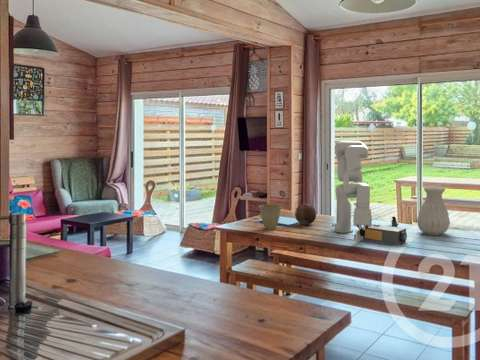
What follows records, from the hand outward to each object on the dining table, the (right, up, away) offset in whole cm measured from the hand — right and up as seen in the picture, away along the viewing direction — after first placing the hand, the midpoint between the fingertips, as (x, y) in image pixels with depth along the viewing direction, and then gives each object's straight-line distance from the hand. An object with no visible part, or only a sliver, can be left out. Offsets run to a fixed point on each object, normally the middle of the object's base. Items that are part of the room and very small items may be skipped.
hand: (362, 236), depth 289 cm
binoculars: (+26, -2, +30) cm, 39 cm away
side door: (-1, -4, +5) cm, 7 cm away
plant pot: (-52, -1, +44) cm, 68 cm away
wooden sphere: (-26, +1, +59) cm, 65 cm away
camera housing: (+16, -4, +7) cm, 18 cm away
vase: (+53, -2, +28) cm, 60 cm away
